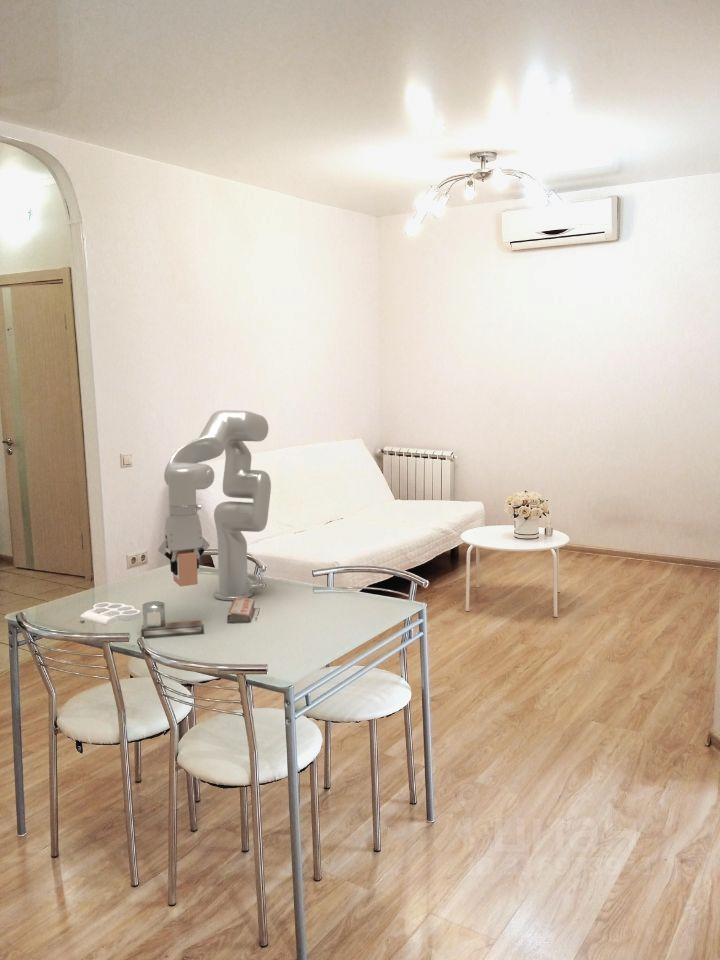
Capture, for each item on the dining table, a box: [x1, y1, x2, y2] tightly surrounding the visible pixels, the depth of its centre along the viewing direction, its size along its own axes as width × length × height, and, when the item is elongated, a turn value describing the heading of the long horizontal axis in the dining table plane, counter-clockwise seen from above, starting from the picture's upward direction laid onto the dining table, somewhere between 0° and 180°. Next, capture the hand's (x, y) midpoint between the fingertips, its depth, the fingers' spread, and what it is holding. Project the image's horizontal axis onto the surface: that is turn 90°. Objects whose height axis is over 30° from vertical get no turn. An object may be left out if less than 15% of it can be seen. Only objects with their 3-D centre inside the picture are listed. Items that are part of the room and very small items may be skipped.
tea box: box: [172, 550, 199, 587], centre depth 232 cm, size 7×5×9 cm
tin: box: [142, 600, 166, 629], centre depth 229 cm, size 6×6×8 cm
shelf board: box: [140, 620, 205, 639], centre depth 231 cm, size 17×12×4 cm
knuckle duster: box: [79, 601, 142, 626], centre depth 244 cm, size 3×18×15 cm
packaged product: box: [226, 597, 261, 624], centre depth 244 cm, size 18×5×10 cm
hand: (184, 572), depth 232 cm, fingers closed on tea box, 5 cm apart
